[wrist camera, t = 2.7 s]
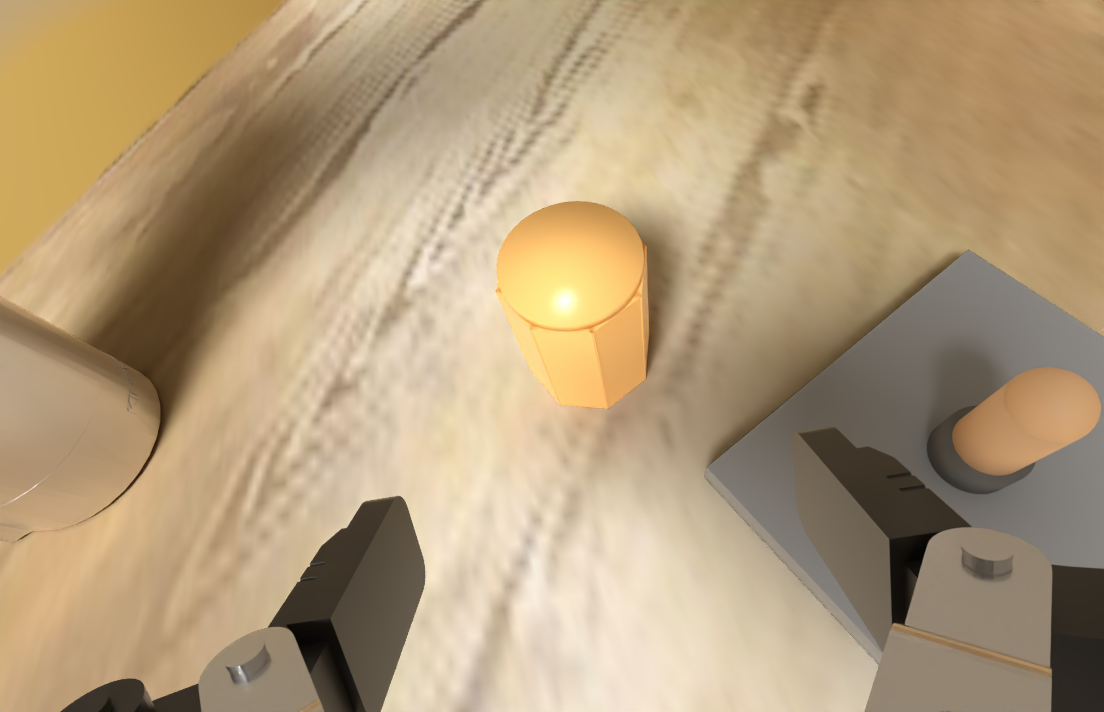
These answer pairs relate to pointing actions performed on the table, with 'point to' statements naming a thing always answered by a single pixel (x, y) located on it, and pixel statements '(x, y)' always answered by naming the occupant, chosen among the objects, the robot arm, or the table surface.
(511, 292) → the orange domed hexagonal post
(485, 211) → the table surface
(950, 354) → the post board
